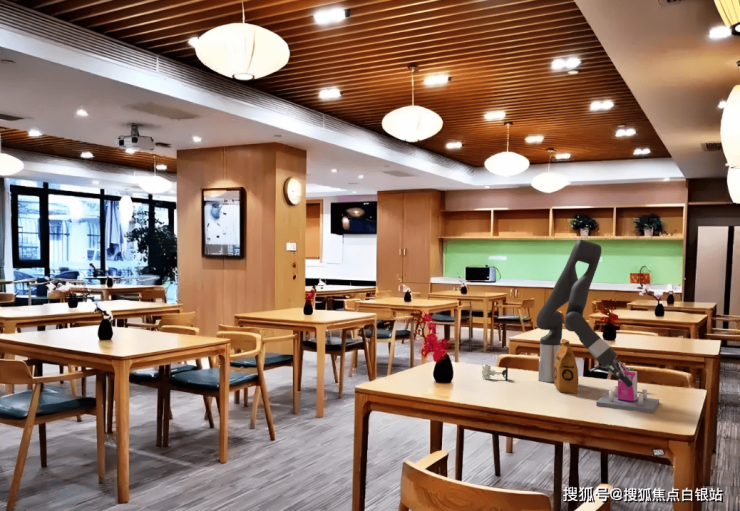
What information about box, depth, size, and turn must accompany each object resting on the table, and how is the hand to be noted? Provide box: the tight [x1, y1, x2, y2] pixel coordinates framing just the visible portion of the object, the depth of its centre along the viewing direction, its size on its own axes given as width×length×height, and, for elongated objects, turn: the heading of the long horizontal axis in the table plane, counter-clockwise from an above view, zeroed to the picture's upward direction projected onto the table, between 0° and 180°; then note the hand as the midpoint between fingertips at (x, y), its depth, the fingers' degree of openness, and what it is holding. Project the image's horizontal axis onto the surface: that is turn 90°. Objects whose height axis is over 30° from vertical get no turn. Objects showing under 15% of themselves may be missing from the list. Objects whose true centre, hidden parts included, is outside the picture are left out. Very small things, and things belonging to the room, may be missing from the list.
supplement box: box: [617, 370, 638, 403], centre depth 235 cm, size 6×6×12 cm
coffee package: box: [554, 338, 579, 394], centre depth 259 cm, size 10×12×22 cm
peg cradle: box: [595, 385, 660, 414], centre depth 235 cm, size 20×20×6 cm
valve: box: [481, 364, 509, 381], centre depth 283 cm, size 7×7×12 cm
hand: (632, 384), depth 234 cm, fingers open, 8 cm apart
